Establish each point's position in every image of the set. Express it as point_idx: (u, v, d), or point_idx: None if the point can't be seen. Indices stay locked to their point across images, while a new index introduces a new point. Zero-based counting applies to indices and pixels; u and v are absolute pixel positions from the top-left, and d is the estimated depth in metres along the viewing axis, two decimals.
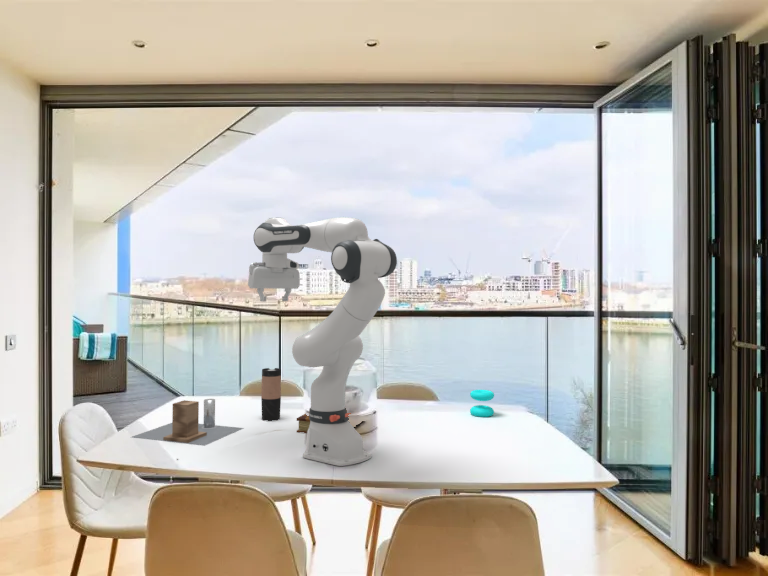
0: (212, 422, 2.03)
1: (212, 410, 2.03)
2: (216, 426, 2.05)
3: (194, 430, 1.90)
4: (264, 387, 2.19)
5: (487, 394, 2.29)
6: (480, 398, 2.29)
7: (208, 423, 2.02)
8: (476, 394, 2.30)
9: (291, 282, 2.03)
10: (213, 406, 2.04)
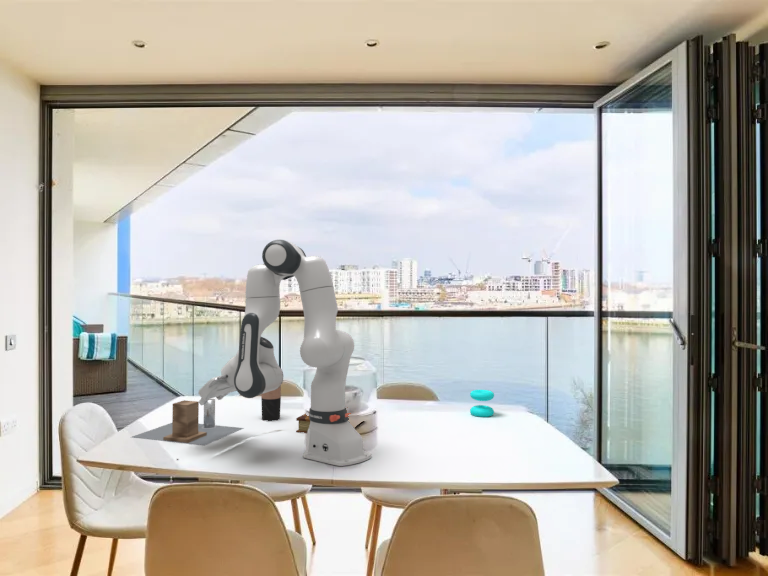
0: (212, 422, 2.03)
1: (212, 410, 2.03)
2: (216, 426, 2.05)
3: (194, 430, 1.90)
4: None
5: (487, 394, 2.29)
6: (480, 398, 2.29)
7: (208, 423, 2.02)
8: (476, 394, 2.30)
9: (236, 388, 1.92)
10: (213, 406, 2.04)
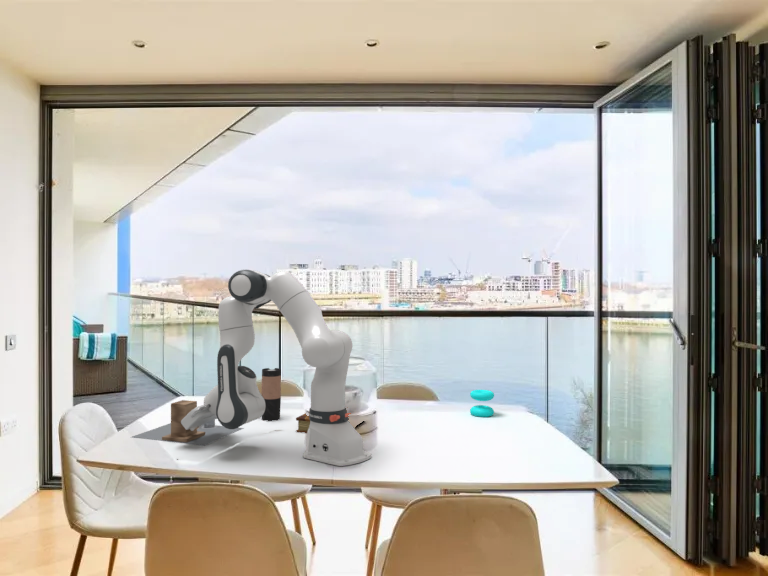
0: (212, 422, 2.03)
1: None
2: (216, 426, 2.05)
3: None
4: (264, 387, 2.19)
5: (487, 394, 2.29)
6: (480, 398, 2.29)
7: (208, 423, 2.02)
8: (476, 394, 2.30)
9: None
10: None
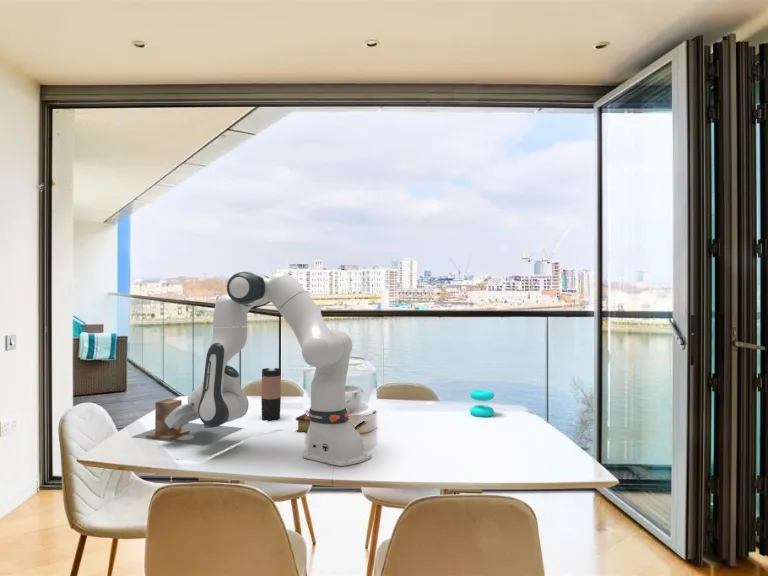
0: None
1: None
2: None
3: None
4: (264, 387, 2.19)
5: (487, 394, 2.29)
6: (480, 398, 2.29)
7: None
8: (476, 394, 2.30)
9: None
10: None
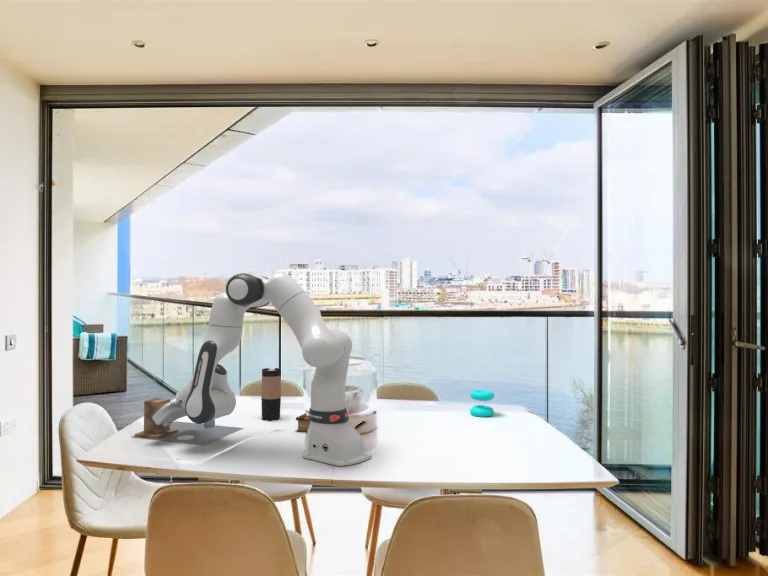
0: (212, 422, 2.03)
1: None
2: (216, 426, 2.05)
3: (165, 427, 1.93)
4: (264, 387, 2.19)
5: (487, 394, 2.29)
6: (480, 398, 2.29)
7: (208, 423, 2.02)
8: (476, 394, 2.30)
9: None
10: None
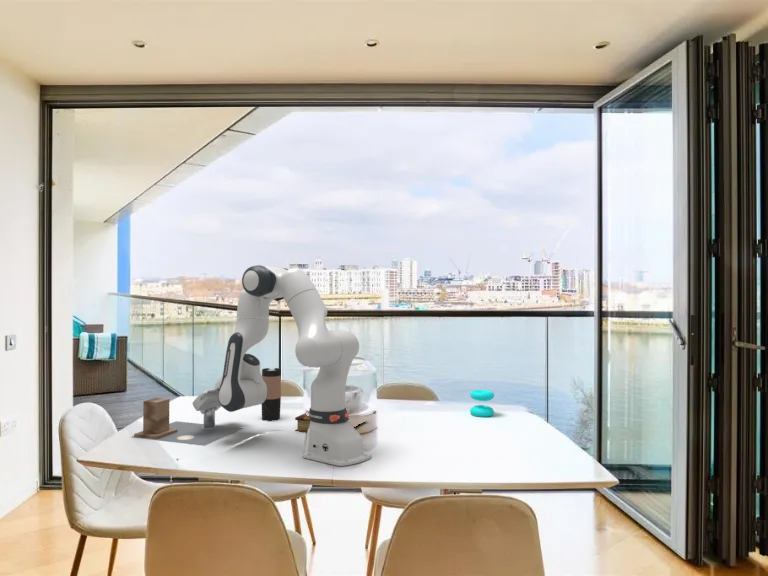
0: (212, 422, 2.03)
1: (212, 410, 2.03)
2: (216, 426, 2.05)
3: (165, 427, 1.94)
4: None
5: (487, 394, 2.29)
6: (480, 398, 2.29)
7: (208, 423, 2.02)
8: (476, 394, 2.30)
9: None
10: None
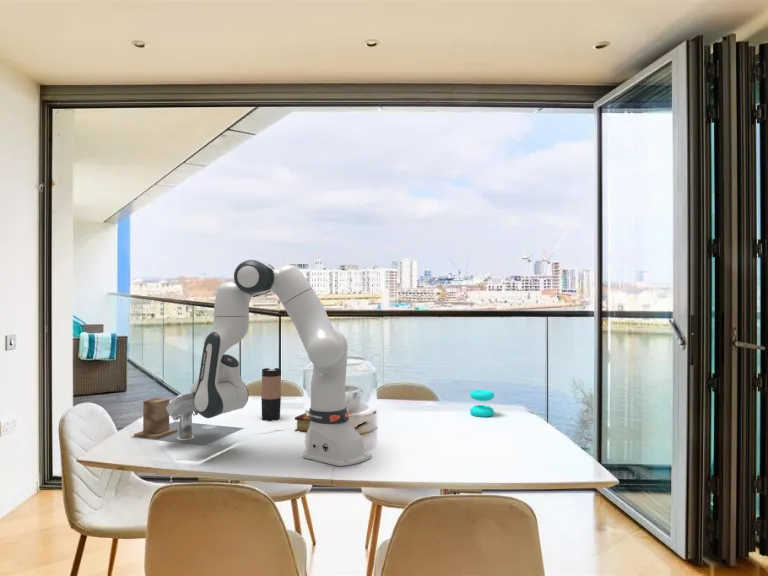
0: (188, 432, 1.89)
1: (188, 419, 1.89)
2: (216, 426, 2.05)
3: (165, 427, 1.94)
4: (264, 387, 2.19)
5: (487, 394, 2.29)
6: (480, 398, 2.29)
7: (184, 434, 1.88)
8: (476, 394, 2.30)
9: None
10: (190, 415, 1.89)
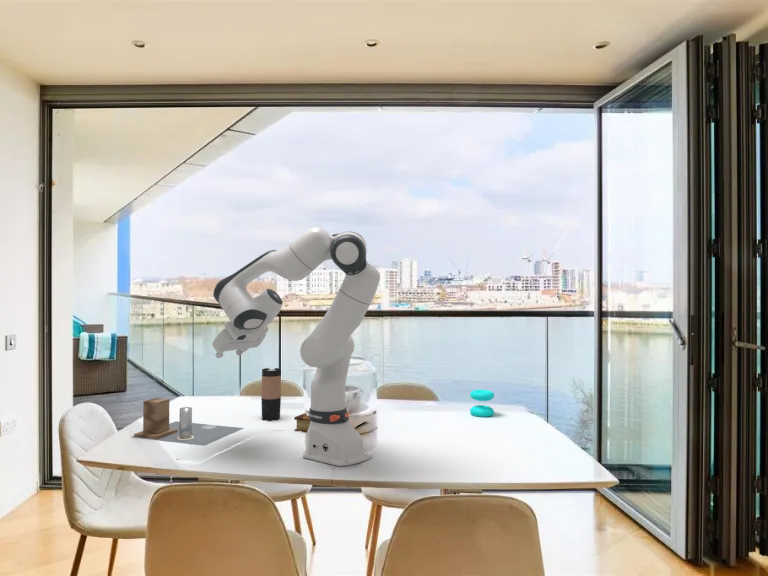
0: (189, 432, 1.89)
1: (188, 419, 1.89)
2: (216, 426, 2.05)
3: (165, 427, 1.94)
4: (264, 387, 2.19)
5: (487, 394, 2.29)
6: (480, 398, 2.29)
7: (184, 434, 1.88)
8: (476, 394, 2.30)
9: None
10: (190, 415, 1.89)
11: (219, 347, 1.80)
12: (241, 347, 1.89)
